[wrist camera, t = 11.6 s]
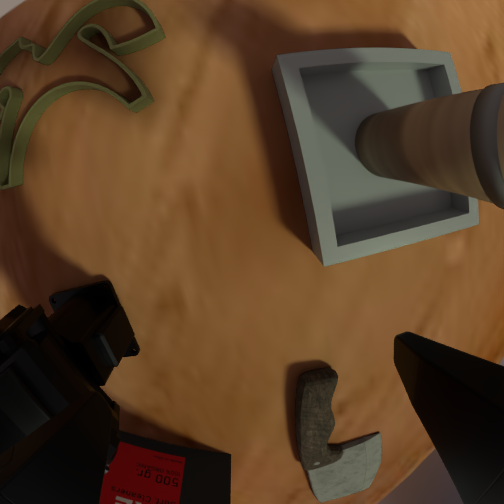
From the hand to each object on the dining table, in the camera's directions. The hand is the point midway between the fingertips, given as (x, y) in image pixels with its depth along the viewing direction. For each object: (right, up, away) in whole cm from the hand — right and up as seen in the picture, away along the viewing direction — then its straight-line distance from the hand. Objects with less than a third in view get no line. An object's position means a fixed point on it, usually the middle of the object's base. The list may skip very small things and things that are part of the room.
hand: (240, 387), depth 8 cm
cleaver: (+10, -19, +20) cm, 30 cm away
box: (+9, +11, +11) cm, 18 cm away
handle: (+9, +11, +10) cm, 17 cm away
